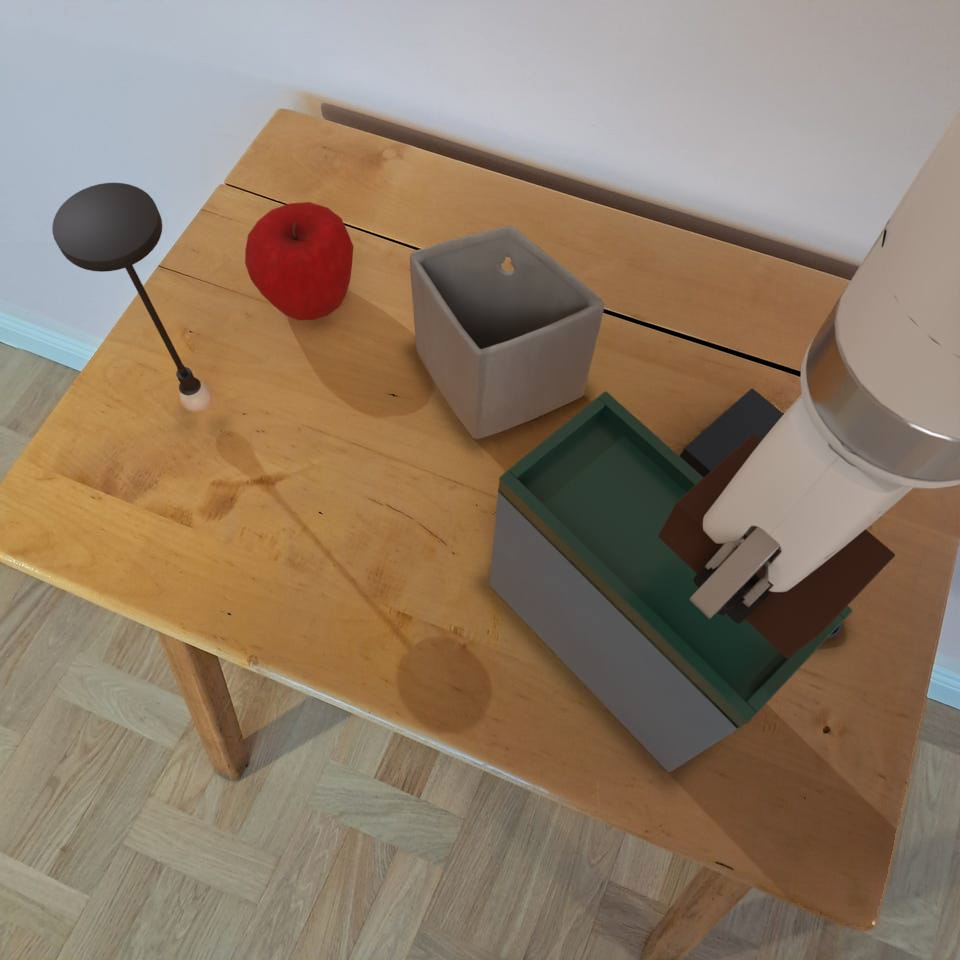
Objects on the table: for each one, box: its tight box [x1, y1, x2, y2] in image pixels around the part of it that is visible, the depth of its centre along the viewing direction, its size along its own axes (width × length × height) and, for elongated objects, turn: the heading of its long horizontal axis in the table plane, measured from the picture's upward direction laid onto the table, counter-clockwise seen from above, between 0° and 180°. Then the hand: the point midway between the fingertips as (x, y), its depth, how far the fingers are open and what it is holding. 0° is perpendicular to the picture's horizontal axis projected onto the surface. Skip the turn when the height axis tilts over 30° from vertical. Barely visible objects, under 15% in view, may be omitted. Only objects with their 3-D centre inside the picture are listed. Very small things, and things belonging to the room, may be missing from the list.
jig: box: [497, 390, 853, 730], centre depth 53 cm, size 20×10×2 cm, turn 42°
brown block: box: [658, 434, 896, 658], centre depth 45 cm, size 6×9×4 cm, turn 42°
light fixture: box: [51, 182, 213, 413], centre depth 67 cm, size 7×7×25 cm
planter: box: [409, 225, 605, 440], centre depth 71 cm, size 16×8×19 cm, turn 73°
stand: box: [488, 491, 738, 774], centre depth 62 cm, size 20×10×18 cm, turn 42°
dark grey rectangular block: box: [679, 388, 784, 478], centre depth 76 cm, size 6×9×4 cm, turn 132°
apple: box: [244, 201, 354, 321], centre depth 80 cm, size 10×10×11 cm
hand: (760, 558), depth 46 cm, fingers closed on brown block, 6 cm apart
